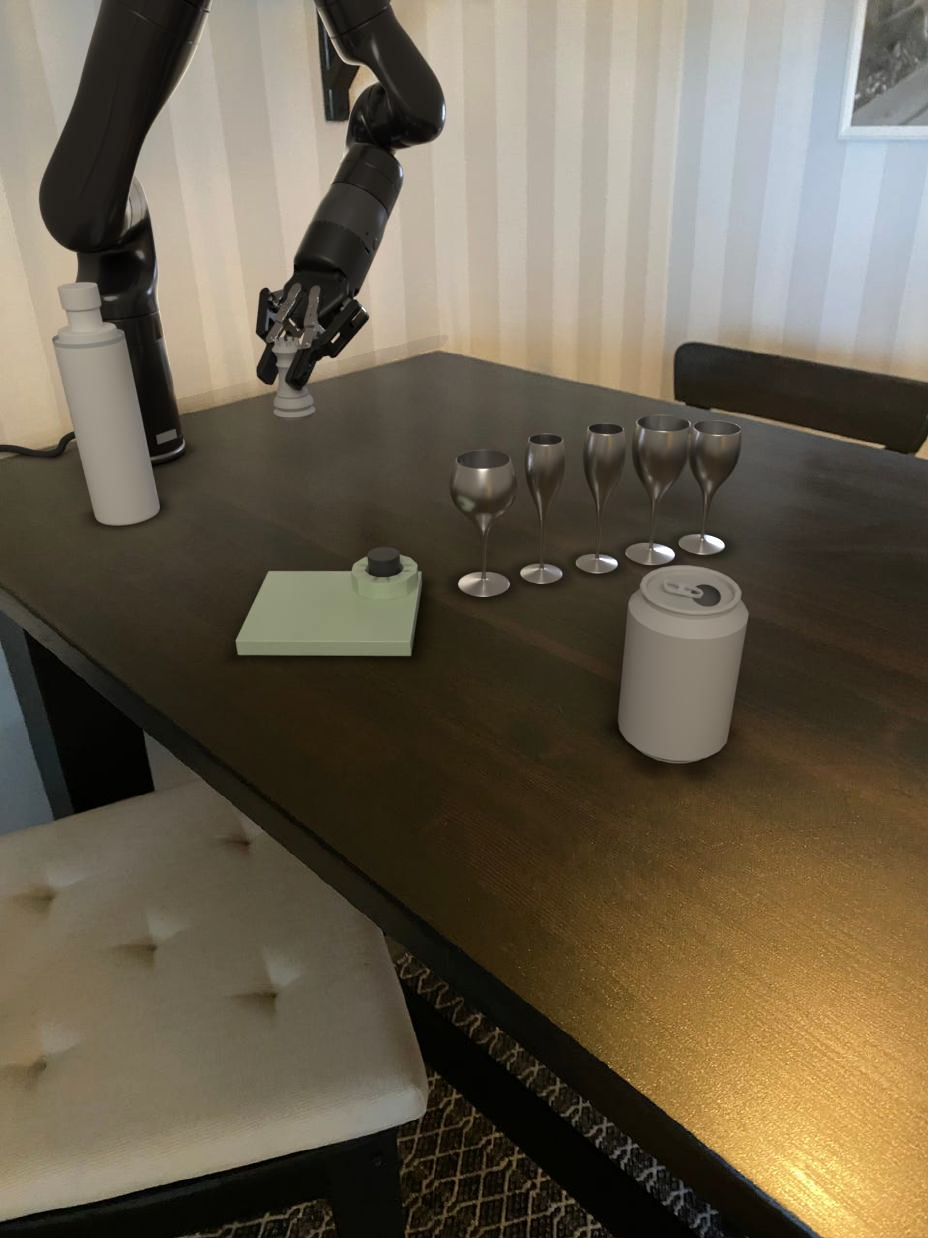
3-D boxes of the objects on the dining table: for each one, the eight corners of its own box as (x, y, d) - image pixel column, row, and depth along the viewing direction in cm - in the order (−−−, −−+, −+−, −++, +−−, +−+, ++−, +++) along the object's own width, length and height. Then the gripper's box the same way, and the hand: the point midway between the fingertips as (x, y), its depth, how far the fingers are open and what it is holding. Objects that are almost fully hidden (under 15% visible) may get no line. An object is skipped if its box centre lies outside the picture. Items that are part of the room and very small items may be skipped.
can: (729, 777, 59) (757, 620, 53) (613, 764, 60) (627, 608, 54) (724, 710, 65) (748, 562, 59) (619, 699, 66) (632, 553, 60)
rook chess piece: (281, 424, 94) (272, 347, 90) (268, 412, 98) (259, 337, 94) (321, 417, 96) (314, 341, 92) (307, 406, 100) (300, 332, 95)
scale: (237, 655, 72) (232, 623, 71) (271, 582, 83) (266, 553, 81) (411, 656, 72) (409, 624, 70) (422, 582, 83) (421, 553, 81)
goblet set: (706, 529, 91) (723, 401, 84) (738, 553, 87) (760, 419, 80) (443, 576, 84) (439, 438, 77) (464, 605, 79) (462, 461, 72)
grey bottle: (166, 499, 100) (119, 260, 87) (151, 524, 94) (99, 273, 82) (105, 501, 100) (49, 262, 87) (87, 527, 94) (23, 274, 81)
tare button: (366, 579, 78) (365, 561, 77) (370, 564, 80) (369, 546, 79) (399, 579, 78) (398, 561, 77) (402, 564, 80) (401, 546, 79)
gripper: (272, 213, 96) (206, 355, 93) (379, 221, 89) (311, 374, 87) (309, 258, 102) (248, 392, 100) (411, 269, 96) (349, 412, 93)
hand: (278, 382), depth 93 cm, fingers closed on rook chess piece, 3 cm apart
